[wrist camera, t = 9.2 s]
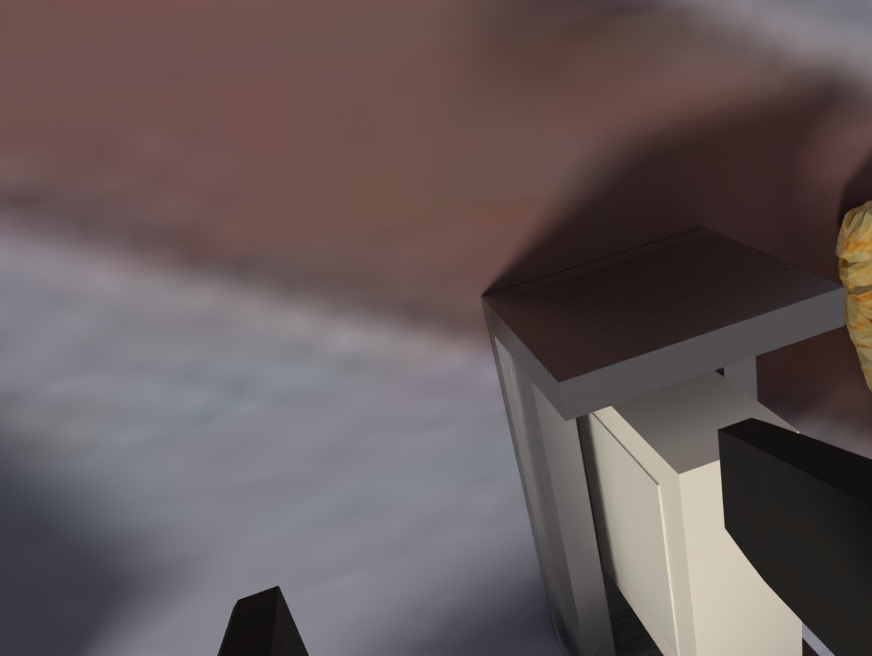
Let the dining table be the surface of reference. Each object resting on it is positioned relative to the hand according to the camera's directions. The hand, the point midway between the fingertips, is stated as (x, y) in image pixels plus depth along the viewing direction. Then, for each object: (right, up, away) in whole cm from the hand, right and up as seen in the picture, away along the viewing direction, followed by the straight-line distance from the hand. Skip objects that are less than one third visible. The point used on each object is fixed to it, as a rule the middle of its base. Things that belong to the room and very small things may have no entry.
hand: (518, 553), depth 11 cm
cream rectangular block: (+5, -1, +12) cm, 13 cm away
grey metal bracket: (+5, -1, +13) cm, 14 cm away
